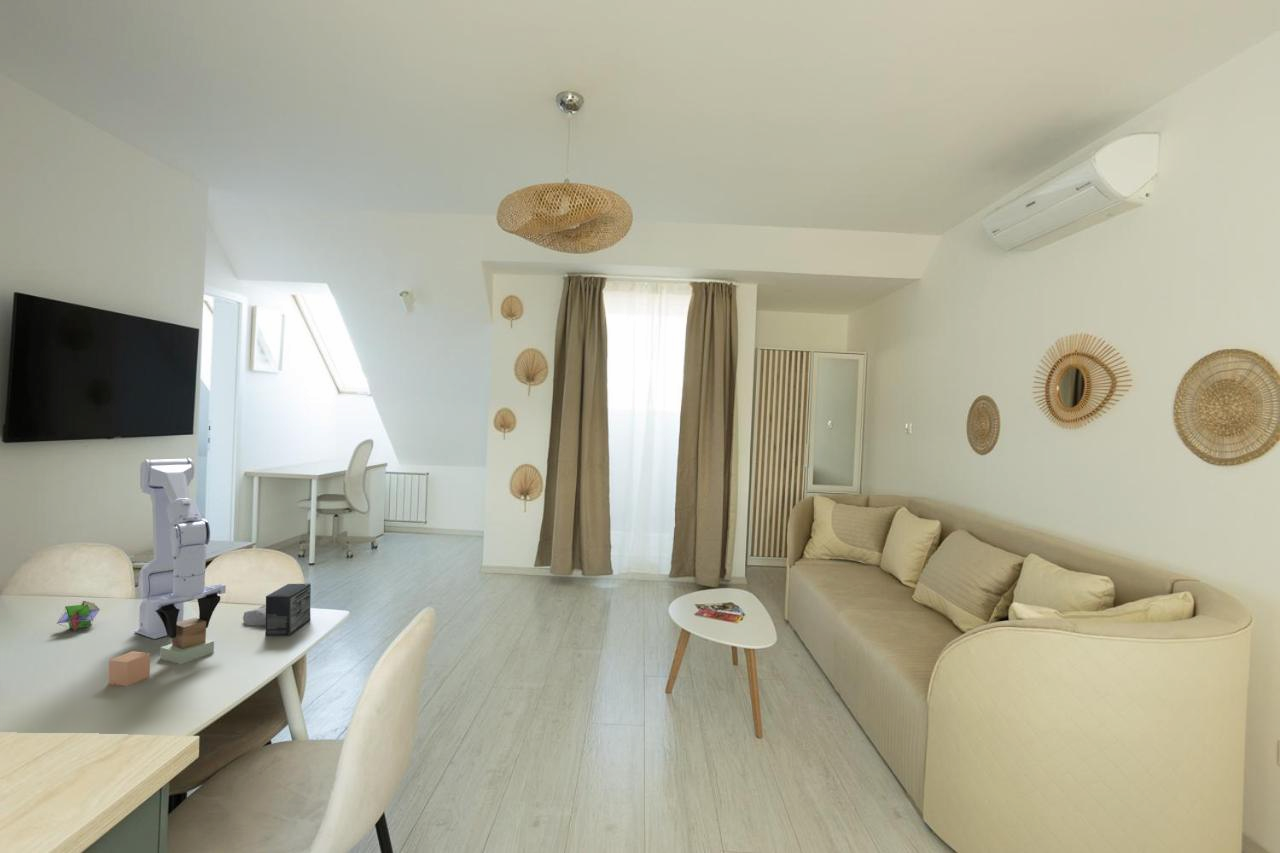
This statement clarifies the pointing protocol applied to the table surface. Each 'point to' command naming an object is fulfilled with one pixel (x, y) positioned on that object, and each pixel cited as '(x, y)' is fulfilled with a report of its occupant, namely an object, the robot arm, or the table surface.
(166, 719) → the table surface
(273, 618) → the small box
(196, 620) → the walnut block
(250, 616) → the stone block
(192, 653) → the base block
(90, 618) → the geometric puzzle
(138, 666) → the terracotta block
